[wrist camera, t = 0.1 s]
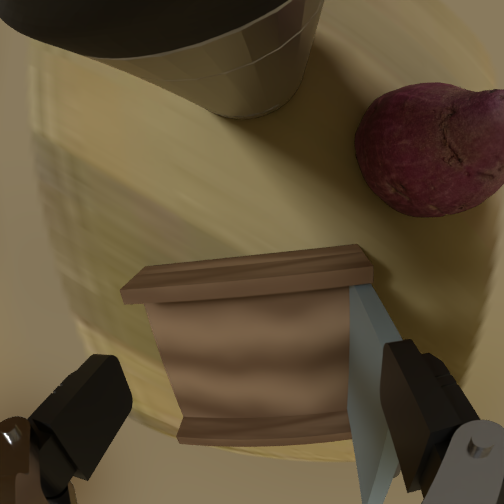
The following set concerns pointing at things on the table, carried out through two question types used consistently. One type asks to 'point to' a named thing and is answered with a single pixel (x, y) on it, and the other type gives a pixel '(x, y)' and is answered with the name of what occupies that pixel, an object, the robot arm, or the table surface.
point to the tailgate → (370, 393)
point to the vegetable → (433, 148)
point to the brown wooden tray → (256, 343)
